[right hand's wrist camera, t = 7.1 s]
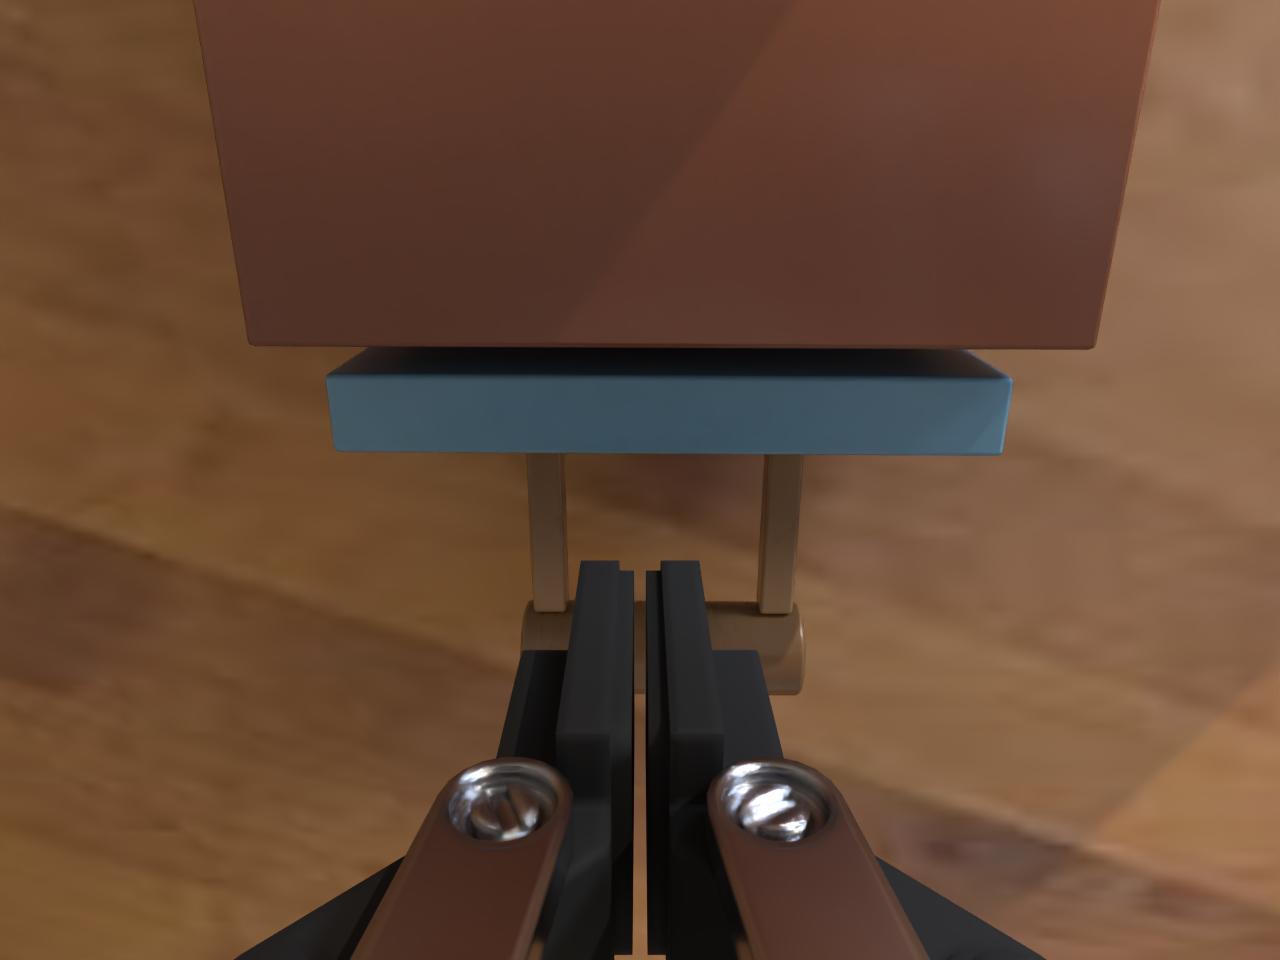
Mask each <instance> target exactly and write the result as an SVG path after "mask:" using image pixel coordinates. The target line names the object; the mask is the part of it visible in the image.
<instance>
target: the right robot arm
mask: <svg viewBox="0 0 1280 960" xmlns="http://www.w3.org/2000/svg"><path fill="white" fill-rule="evenodd" d="M633 841H634V571H619V561H581V564H580V571H579V578H578V585H577V592H576V598H575V605H574V612H573V619H572V626H571V632H570V639H569V646H568V650H524V651H522V654H521V657H520V662H519V666H518V670H517V674H516V678H515V682H514V687H513V691H512V695H511V699H510V703H509V707H508V712H507V716H506V720H505V724H504V728H503V732H502V737H501V741H500V745H499V749H498V753H497V757H496V759H492V760H487V761H483V762H480V763H478V764H476V765H473V766H471V767H469V768H466V769H464V770H463V771H461V772H460V773H459V774H457V775H456V776H455V777H453V778H452V779H450V780H449V781H448V782H447V784H446V785H445V786H444V788H443V789H442V790H441V791H440V793H439V794H438V796H437V798H436V800H435V801H434V803H433V805H432V807H431V809H430V811H429V813H428V814H427V816H426V818H425V820H424V822H423V824H422V826H421V828H420V829H419V831H418V833H417V835H416V837H415V839H414V841H413V842H412V844H411V846H410V848H409V850H408V852H407V854H406V855H405V856H404V857H402V858H400V859H399V860H397V861H395V862H394V863H392V864H390V865H389V866H387V867H385V868H384V869H382V870H380V871H379V872H377V873H375V874H374V875H372V876H370V877H369V878H367V879H365V880H364V881H362V882H360V883H359V884H357V885H356V886H354V887H352V888H351V889H349V890H347V891H346V892H344V893H342V894H341V895H339V896H337V897H336V898H334V899H332V900H331V901H329V902H327V903H326V904H324V905H322V906H321V907H319V908H317V909H316V910H314V911H312V912H311V913H309V914H307V915H306V916H304V917H302V918H301V919H299V920H297V921H296V922H294V923H292V924H291V925H289V926H288V927H286V928H284V929H283V930H281V931H279V932H278V933H276V934H274V935H273V936H271V937H269V938H268V939H266V940H264V941H263V942H261V943H259V944H258V945H256V946H254V947H253V948H251V949H249V950H248V951H246V952H244V953H243V954H241V955H239V956H238V957H237V958H235V959H234V960H614V955H632V946H633ZM646 841H647V946H648V955H666V960H1046V959H1045V958H1043V957H1042V956H1041V955H1039V954H1037V953H1036V952H1034V951H1032V950H1031V949H1029V948H1027V947H1026V946H1024V945H1022V944H1021V943H1019V942H1017V941H1016V940H1014V939H1012V938H1011V937H1009V936H1007V935H1006V934H1004V933H1002V932H1001V931H999V930H997V929H996V928H994V927H992V926H991V925H989V924H988V923H986V922H984V921H983V920H981V919H979V918H978V917H976V916H974V915H973V914H971V913H969V912H968V911H966V910H964V909H963V908H961V907H959V906H958V905H956V904H954V903H953V902H951V901H949V900H948V899H946V898H944V897H943V896H941V895H939V894H938V893H936V892H934V891H933V890H931V889H929V888H928V887H926V886H924V885H923V884H921V883H920V882H918V881H916V880H915V879H913V878H911V877H910V876H908V875H906V874H905V873H903V872H901V871H900V870H898V869H896V868H895V867H893V866H891V865H890V864H888V863H886V862H885V861H883V860H881V859H880V858H878V857H876V856H875V855H874V854H873V852H872V850H871V848H870V846H869V844H868V843H867V841H866V839H865V837H864V835H863V833H862V831H861V829H860V828H859V826H858V824H857V822H856V820H855V818H854V816H853V814H852V813H851V811H850V809H849V807H848V805H847V803H846V801H845V800H844V798H843V796H842V794H841V793H840V791H839V790H838V789H837V788H836V786H835V785H834V784H833V782H832V781H831V780H830V779H828V778H827V777H825V776H824V775H823V774H821V773H820V772H819V771H817V770H816V769H814V768H811V767H809V766H807V765H804V764H802V763H800V762H797V761H793V760H788V759H784V757H783V753H782V749H781V745H780V741H779V737H778V732H777V728H776V724H775V720H774V716H773V712H772V707H771V703H770V699H769V695H768V691H767V687H766V682H765V678H764V674H763V670H762V666H761V662H760V657H759V654H758V651H756V650H712V646H711V639H710V632H709V626H708V619H707V612H706V605H705V598H704V592H703V585H702V578H701V571H700V564H699V561H661V571H646Z"/></svg>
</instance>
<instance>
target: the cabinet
mask: <svg viewBox="0 0 1280 960" xmlns="http://www.w3.org/2000/svg"><path fill="white" fill-rule="evenodd" d="M193 1H194V7H195V13H196V20H197V26H198V32H199V38H200V45H201V51H202V57H203V63H204V69H205V76H206V82H207V88H208V94H209V101H210V107H211V113H212V119H213V126H214V132H215V138H216V144H217V150H218V157H219V163H220V169H221V175H222V182H223V188H224V194H225V200H226V206H227V213H228V219H229V225H230V231H231V238H232V244H233V250H234V256H235V263H236V269H237V275H238V281H239V287H240V294H241V300H242V306H243V312H244V319H245V325H246V331H247V337H248V342H249V344H251V345H254V346H343V347H575V348H808V349H1040V350H1089V349H1092V348H1094V347H1095V345H1096V341H1097V336H1098V330H1099V325H1100V320H1101V315H1102V309H1103V304H1104V299H1105V293H1106V288H1107V283H1108V278H1109V272H1110V267H1111V262H1112V256H1113V251H1114V246H1115V241H1116V235H1117V230H1118V225H1119V219H1120V214H1121V209H1122V204H1123V198H1124V193H1125V188H1126V182H1127V177H1128V172H1129V167H1130V161H1131V156H1132V151H1133V145H1134V140H1135V135H1136V130H1137V124H1138V119H1139V114H1140V108H1141V103H1142V98H1143V93H1144V87H1145V82H1146V77H1147V71H1148V66H1149V61H1150V56H1151V50H1152V45H1153V40H1154V34H1155V29H1156V24H1157V19H1158V13H1159V8H1160V3H1161V0H193Z"/></svg>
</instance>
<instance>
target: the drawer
mask: <svg viewBox="0 0 1280 960" xmlns="http://www.w3.org/2000/svg"><path fill="white" fill-rule="evenodd" d="M325 380H326V388H327V396H328V403H329V411H330V418H331V426H332V434H333V441H334V448H335V450H336V451H339V452H457V453H526V458H527V479H528V500H529V521H530V541H531V562H532V583H533V600H531V601H529V602H528V603H527V606H526V608H525V612H524V616H523V623H522V633H521V654H522V651H524V650H568V646H569V639H570V632H571V626H572V619H573V612H574V605H575V600H568V598H569V583H568V552H567V520H566V488H565V457H564V453H622V454H764V471H763V490H762V508H761V526H760V544H759V563H758V581H757V602H742V601H705V605H706V612H707V619H708V626H709V632H710V639H711V646H712V650H756V651H758V654H759V657H760V662H761V666H762V670H763V674H764V678H765V682H766V687H767V691H768V695H797V694H799V693H800V692H801V689H802V686H803V682H804V675H805V633H804V625H803V619H802V614H801V611H800V609H799V606H798V604H796V603H794V602H793V596H794V582H795V568H796V554H797V540H798V526H799V512H800V498H801V484H802V470H803V457H804V455H952V456H997V455H1000V454H1001V453H1002V450H1003V443H1004V437H1005V431H1006V424H1007V418H1008V412H1009V405H1010V399H1011V393H1012V386H1013V381H1012V378H1011V377H1009V376H1007V375H1006V374H1004V373H1003V372H1001V371H999V370H998V369H996V368H995V367H993V366H991V365H990V364H988V363H987V362H985V361H983V360H982V359H980V358H979V357H977V356H975V355H974V354H972V353H971V352H969V351H967V350H966V349H808V348H575V347H368V348H366V349H365V350H363V351H362V352H360V353H359V354H357V355H356V356H354V357H353V358H351V359H350V360H348V361H347V362H345V363H344V364H342V365H341V366H339V367H338V368H336V369H335V370H333V371H332V372H330V373H329V374H327V376H326V379H325ZM634 694H646V601H634Z"/></svg>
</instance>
